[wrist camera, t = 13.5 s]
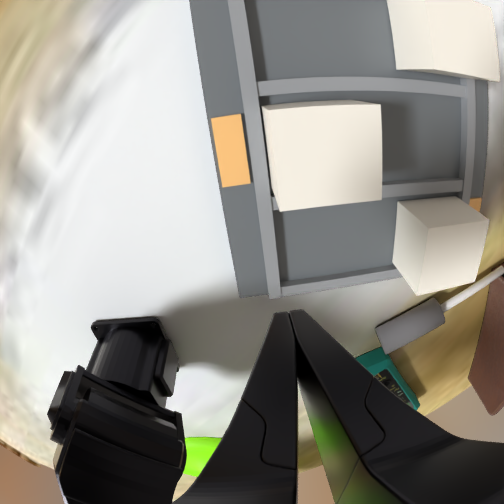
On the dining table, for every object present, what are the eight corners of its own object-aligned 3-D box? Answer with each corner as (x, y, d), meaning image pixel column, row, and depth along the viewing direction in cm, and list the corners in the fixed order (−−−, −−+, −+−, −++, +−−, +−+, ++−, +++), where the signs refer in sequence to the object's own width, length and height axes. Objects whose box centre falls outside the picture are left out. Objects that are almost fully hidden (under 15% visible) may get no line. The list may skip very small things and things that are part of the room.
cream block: (271, 185, 18) (280, 211, 14) (261, 105, 15) (268, 110, 12) (354, 176, 17) (381, 200, 14) (350, 99, 15) (380, 104, 12)
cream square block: (396, 69, 14) (434, 69, 11) (386, -1, 12) (421, -16, 8) (459, 77, 14) (500, 82, 11) (451, 13, 12) (490, 7, 8)
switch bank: (239, 287, 23) (240, 304, 21) (190, -7, 13) (185, -16, 11) (462, 252, 22) (474, 263, 20) (468, 10, 12) (484, 7, 11)
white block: (392, 262, 21) (416, 295, 17) (397, 201, 18) (428, 228, 15) (446, 252, 20) (474, 281, 17) (455, 196, 18) (489, 220, 15)
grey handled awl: (372, 323, 25) (377, 337, 27) (383, 346, 23) (387, 359, 24) (496, 251, 22) (494, 269, 24) (511, 269, 20) (508, 286, 22)
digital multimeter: (379, 338, 27) (390, 360, 24) (415, 393, 33) (423, 410, 31) (315, 374, 29) (320, 397, 26) (367, 419, 35) (372, 436, 33)
